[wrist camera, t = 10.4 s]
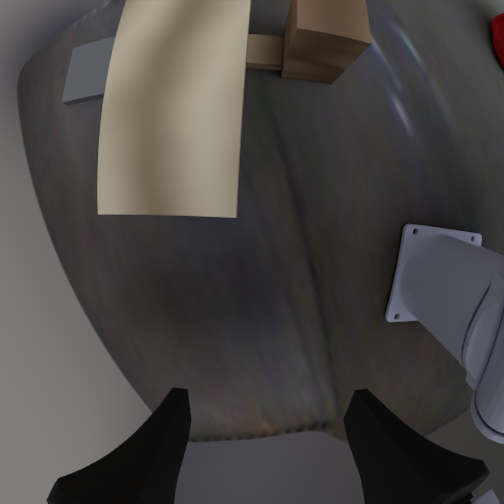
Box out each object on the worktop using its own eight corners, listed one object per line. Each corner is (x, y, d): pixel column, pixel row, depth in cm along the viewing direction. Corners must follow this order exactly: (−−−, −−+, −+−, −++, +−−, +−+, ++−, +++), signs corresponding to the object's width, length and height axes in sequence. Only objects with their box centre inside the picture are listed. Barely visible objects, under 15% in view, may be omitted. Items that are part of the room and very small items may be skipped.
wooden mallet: (330, 44, 15) (364, -6, 8) (331, 84, 16) (371, 43, 9) (129, 43, 14) (86, 2, 8) (122, 82, 15) (70, 50, 9)
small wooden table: (252, 3, 14) (253, -28, 10) (238, 208, 18) (236, 217, 14) (149, 10, 13) (131, -15, 10) (125, 206, 18) (97, 214, 14)
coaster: (133, 41, 15) (126, 33, 13) (122, 96, 16) (114, 91, 15) (82, 53, 15) (73, 48, 13) (71, 105, 16) (61, 102, 15)
